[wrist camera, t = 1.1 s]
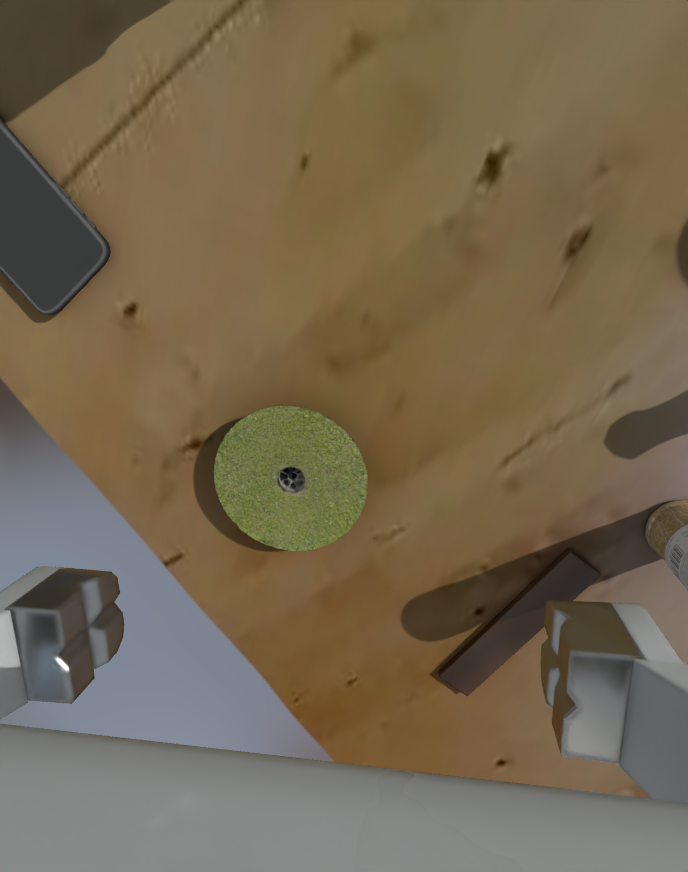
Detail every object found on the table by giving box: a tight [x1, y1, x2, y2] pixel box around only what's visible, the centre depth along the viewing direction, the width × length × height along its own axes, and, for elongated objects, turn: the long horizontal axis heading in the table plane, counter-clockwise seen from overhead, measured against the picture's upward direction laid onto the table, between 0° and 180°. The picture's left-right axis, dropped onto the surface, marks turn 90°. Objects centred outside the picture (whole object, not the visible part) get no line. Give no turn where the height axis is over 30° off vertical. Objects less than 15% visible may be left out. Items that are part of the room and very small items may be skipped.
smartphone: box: [0, 119, 110, 315], centre depth 37 cm, size 7×1×15 cm
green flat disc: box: [214, 406, 368, 551], centre depth 40 cm, size 11×11×2 cm
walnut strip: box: [439, 548, 601, 696], centre depth 43 cm, size 3×15×1 cm, turn 143°
